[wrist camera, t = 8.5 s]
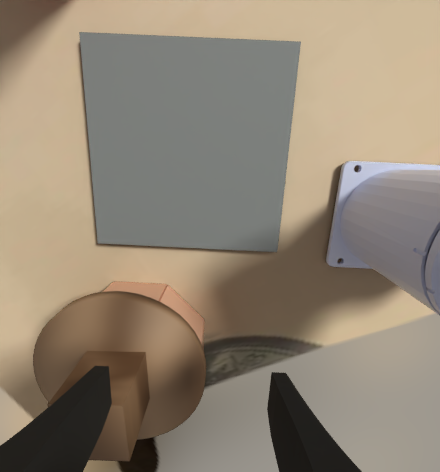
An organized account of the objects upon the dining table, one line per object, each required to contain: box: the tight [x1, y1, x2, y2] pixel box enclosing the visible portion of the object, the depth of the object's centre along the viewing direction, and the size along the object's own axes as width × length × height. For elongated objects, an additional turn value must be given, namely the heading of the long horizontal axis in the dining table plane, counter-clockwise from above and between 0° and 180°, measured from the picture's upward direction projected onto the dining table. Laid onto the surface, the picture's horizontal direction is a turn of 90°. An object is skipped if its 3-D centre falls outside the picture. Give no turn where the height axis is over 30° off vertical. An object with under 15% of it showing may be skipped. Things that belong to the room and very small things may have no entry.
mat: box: [79, 32, 301, 252], centre depth 18 cm, size 14×14×1 cm
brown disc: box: [33, 291, 206, 461], centre depth 16 cm, size 12×12×5 cm
